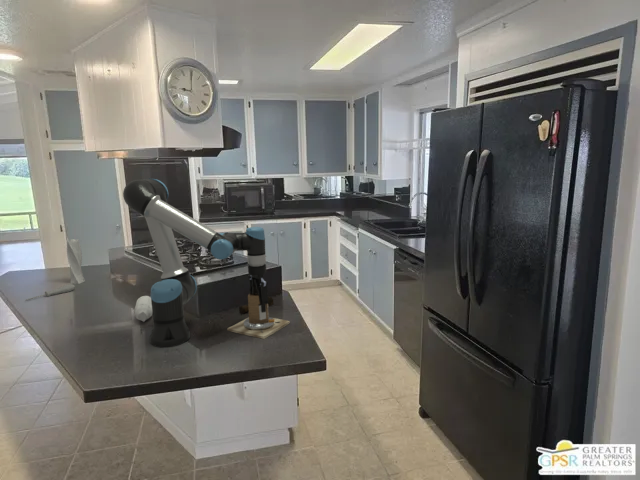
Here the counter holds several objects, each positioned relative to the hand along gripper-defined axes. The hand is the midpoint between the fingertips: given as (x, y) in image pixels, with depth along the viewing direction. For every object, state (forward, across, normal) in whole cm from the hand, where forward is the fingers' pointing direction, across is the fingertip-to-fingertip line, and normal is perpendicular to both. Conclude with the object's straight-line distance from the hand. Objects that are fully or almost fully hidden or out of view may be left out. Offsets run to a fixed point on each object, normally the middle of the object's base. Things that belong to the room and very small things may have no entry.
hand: (259, 316), depth 183 cm
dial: (+3, 0, 0) cm, 3 cm away
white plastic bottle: (+5, +42, +37) cm, 56 cm away
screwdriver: (+5, +110, +72) cm, 131 cm away
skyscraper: (+4, +131, +57) cm, 143 cm away
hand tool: (+5, +22, -10) cm, 25 cm away
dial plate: (+5, 0, 0) cm, 5 cm away
